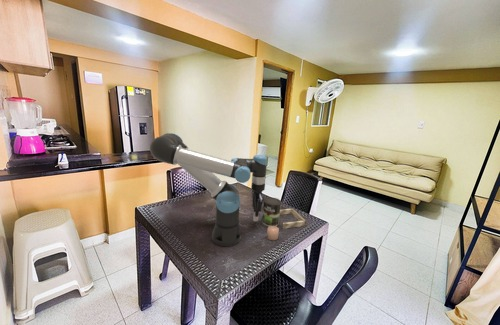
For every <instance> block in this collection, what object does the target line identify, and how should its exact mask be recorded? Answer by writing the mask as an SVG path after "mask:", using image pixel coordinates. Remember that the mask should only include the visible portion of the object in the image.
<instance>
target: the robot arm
mask: <svg viewBox="0 0 500 325" xmlns="http://www.w3.org/2000/svg"><path fill="white" fill-rule="evenodd" d="M150 142H151V143H150V144H149V151H150V154H151V156H152V157H153V158H154V159H155V160H157V161H159V162H162V163H166V164H168V165H174V166H176V165H178V166H179V167H180V168H182V170H184V171H185V172H186V173H187V174H189V175H190V176H191V177H192V178H194V180H195V181H197V182H198V183H199V184H201V185H202V186H203V187H204V188H205V189H206V190H207V191H209V192H210V195H211V198H212V199H214V201H215V224H214V227H213V229H212V233H211V240H212V242H213V243H214V244H216V245H217V246H220V247H232V246H235V245H237V244H239V243H240V242H241V238H242V233H241V228H240V225H239V222H240V221H239V218H240V205H241V200H240V192H239V190H238V188H237V187H236V186H235V185H234V184H232V183H229V182H227V180H221V179H220V178H219V176H217V175H221V176H224V177H228V178H233V179H235V181H237V183H241V184H244V183H247V182H248V181H249V180H250V179H251V187H250V188H251V194H252V195H251V199H252V200H251V203H252V204H251V206H252V209H253V213H252V214H253V215H252V221H253V222H259V217H260V216H259V214H260V213H261V211H262V208H263V203H264V199H265V198H263V193H262V192H263V191H265V187H266V179H267V177H266V176H267V167H268V157H267V156H266V155H263V154H255V155H253V158H241V157H240V158H239V157H235V158H234V157H233V158H231V160H227V159H223V158H221V157H216V156H213V155H209V154H206V153H203V152H198V151H195V150H190V149H189V147H188V146H187V145H186V144H185V143H184V141H183V138H182V137H180V135H178V134H176V133H172V132H170V133H169V132H168V133H167V132H166V133H164V134H162V135H160V136H157V137H155V138H154V139H153V140H152V141H150ZM251 173H252V175H251Z"/></svg>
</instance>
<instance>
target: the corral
mask: <svg viewBox="0 0 500 325" xmlns="http://www.w3.org/2000/svg"><path fill="white" fill-rule="evenodd" d="M290 214H291V215H292V216H293V217H295V219H296V221H287V222H282V226H281V228H282V230H284V229H285V230H286V229H292V228H297V227H306V226H307V220H306V219H305V218H304V217H303V216H302V215H300V213H298V212H297V210H295V209H294V208H284V209H280V216H282V215H290Z"/></svg>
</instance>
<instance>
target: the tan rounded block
mask: <svg viewBox="0 0 500 325" xmlns="http://www.w3.org/2000/svg"><path fill="white" fill-rule="evenodd" d="M266 230H267V231H266V238H267V239H268V240H270V241H277V240H278V239H279V232H280V228H279V227H277V226H267V229H266Z"/></svg>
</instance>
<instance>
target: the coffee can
mask: <svg viewBox="0 0 500 325" xmlns="http://www.w3.org/2000/svg"><path fill="white" fill-rule="evenodd" d="M263 199H264V200H263V206H262V208H263V209H262V218H261V223H262V224H263V226H265V227H269V226H276V227H277V226H278V225H280V223H279V222H280V216H281V215H280V210H281V208H282V207H281V205H282V200H280V199H279V198H276V197H272V196H271V197H270V196H269V197H265V198H263Z"/></svg>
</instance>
